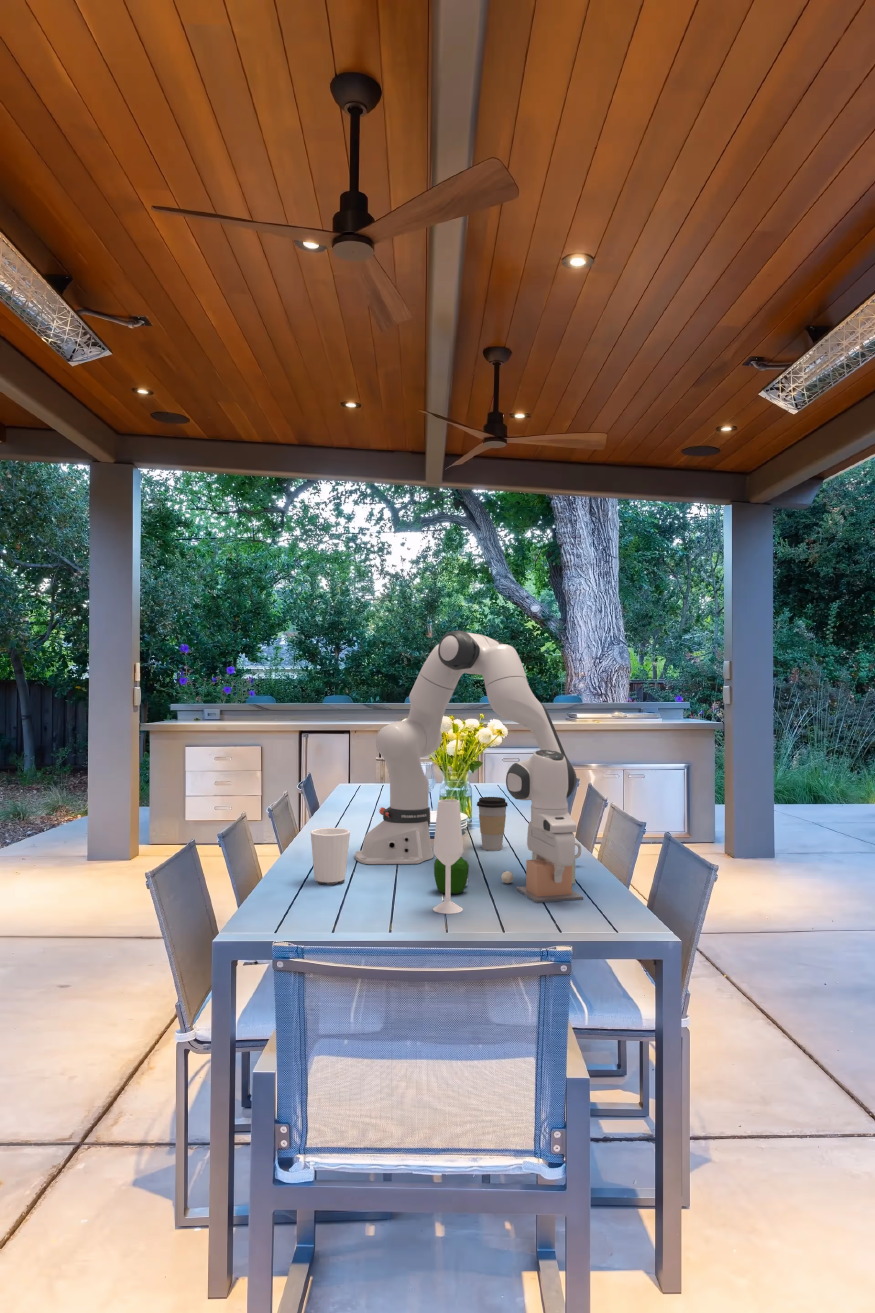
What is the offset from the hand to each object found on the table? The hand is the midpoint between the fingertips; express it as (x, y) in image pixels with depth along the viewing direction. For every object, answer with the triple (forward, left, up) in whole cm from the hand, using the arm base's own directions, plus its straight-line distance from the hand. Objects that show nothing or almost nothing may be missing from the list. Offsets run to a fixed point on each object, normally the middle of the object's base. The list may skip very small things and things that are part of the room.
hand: (549, 877), depth 194 cm
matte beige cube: (+6, +11, -4) cm, 13 cm away
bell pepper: (-22, +8, -4) cm, 24 cm away
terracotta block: (0, 0, -4) cm, 4 cm away
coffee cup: (+4, +52, -4) cm, 52 cm away
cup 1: (-49, +24, -4) cm, 55 cm away
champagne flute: (-27, -6, -4) cm, 28 cm away
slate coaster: (0, 0, -4) cm, 4 cm away
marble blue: (-17, +12, -4) cm, 21 cm away
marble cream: (-5, +11, -3) cm, 13 cm away
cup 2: (+15, +26, -4) cm, 30 cm away
